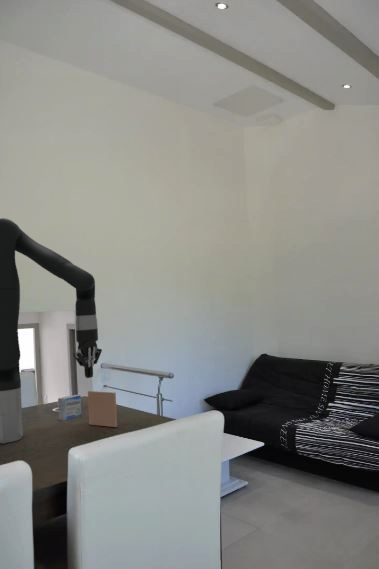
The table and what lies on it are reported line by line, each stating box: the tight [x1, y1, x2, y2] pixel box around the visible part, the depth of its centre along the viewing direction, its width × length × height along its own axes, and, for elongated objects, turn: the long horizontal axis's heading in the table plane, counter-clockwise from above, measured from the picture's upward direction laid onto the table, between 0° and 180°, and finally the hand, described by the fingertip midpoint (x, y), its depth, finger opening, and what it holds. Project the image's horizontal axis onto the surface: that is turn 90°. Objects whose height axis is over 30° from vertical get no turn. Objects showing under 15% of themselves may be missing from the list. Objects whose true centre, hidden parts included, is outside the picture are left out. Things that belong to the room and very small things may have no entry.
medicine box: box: [57, 394, 82, 421], centre depth 187 cm, size 8×4×9 cm, turn 143°
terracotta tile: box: [87, 390, 118, 428], centre depth 171 cm, size 1×12×12 cm, turn 61°
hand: (89, 377), depth 166 cm, fingers closed
